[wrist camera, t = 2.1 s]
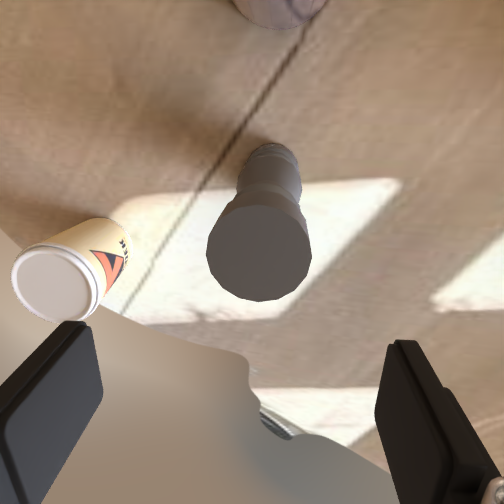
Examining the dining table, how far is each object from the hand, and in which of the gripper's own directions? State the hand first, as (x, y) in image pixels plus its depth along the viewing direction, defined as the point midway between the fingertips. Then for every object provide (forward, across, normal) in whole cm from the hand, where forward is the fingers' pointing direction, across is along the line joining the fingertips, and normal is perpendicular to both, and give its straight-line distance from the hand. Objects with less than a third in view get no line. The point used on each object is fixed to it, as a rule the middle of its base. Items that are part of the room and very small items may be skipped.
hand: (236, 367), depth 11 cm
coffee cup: (+34, +21, +10) cm, 41 cm away
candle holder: (+34, 0, 0) cm, 34 cm away
